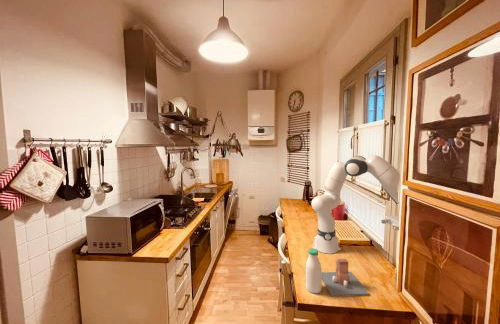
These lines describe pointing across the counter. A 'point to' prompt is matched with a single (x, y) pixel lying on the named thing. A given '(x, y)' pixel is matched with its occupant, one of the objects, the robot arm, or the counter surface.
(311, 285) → the milk bottle
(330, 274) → the peg plate
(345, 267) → the terracotta post
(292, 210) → the counter surface
